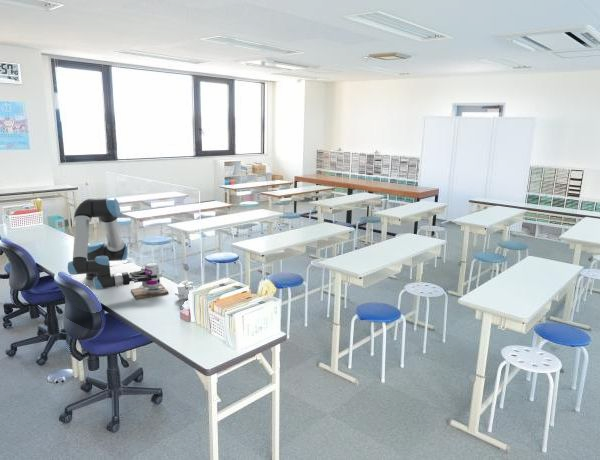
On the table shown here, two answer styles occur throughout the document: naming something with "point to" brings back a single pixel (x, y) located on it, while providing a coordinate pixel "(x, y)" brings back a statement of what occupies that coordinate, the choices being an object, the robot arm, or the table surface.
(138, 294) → the gear board
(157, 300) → the table surface
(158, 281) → the supplement can
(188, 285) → the mechanical part
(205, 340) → the table surface
